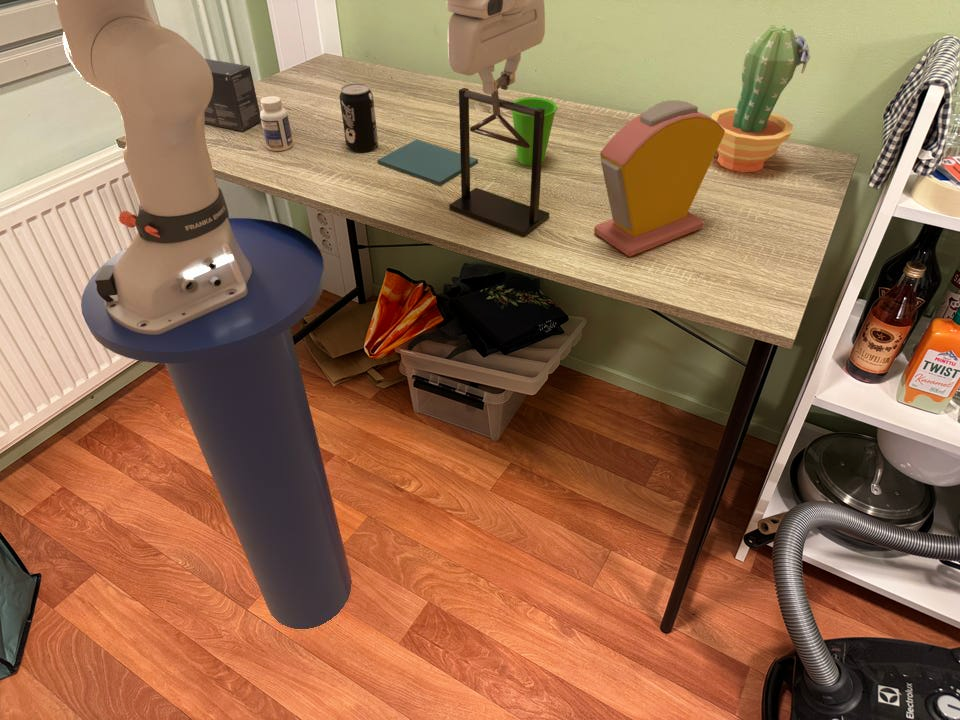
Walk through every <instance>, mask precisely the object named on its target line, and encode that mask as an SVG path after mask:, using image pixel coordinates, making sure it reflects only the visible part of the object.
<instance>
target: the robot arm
mask: <svg viewBox="0 0 960 720" xmlns="http://www.w3.org/2000/svg"><path fill="white" fill-rule="evenodd" d="M54 1H55V5H56V9H57V14H58V18H59V21H60V25H61V28H62V32H63V36H62V43H63V48H64V53H65V54H66V57H67V58H68V60H69V62H70V63H71V65H72V66H73V67H74V69H75V70H76V72H77V73H78V74H79V75H80V77H81V78H82V79H83V80H84V81H85V82H86V83H87V84H89V86H91V87H93V88H94V89H96V90H97V91H99V92H101V93H103V94H104V95H106V96H108V97H109V98H111V100H112V101H113V103H115V105H116V107H117V109H118V110H119V113H120V116H121V119H122V125H123V130H124V137H125V138H124V139H125V147H124V149H123V153H122V157H123V161H124V164H125V166H126V169H127V171H128V174H129V177H130V180H131V182H132V185H133V187H134V190H135V193H136V195H137V198H138V200H139V205H138V213H137V215H136V214H133V213H132V212H130V211H128V210H123V211H122V212H120V213H119V216H118V221H119V222H120V224H122V225H124V226H126V227H128V228H130V229H132V228H136V230H137V234H135V236H134V238H133V239H132V241H131V242H130V244H129V245H128V246H127V247H128V248H127V247H126V248H127V250H126V251H125V253H124V254H123V255H122V257H121V258H120V260H119V261H118V262H117V264H116V265H105V266H102V268H101V270H100V272H99V274H98V276H97V278H96V280H95V282H96V284H97V287H96V289H97V292H98V294H99V295H100V296H101V297H102V298H103V299H104V300H105V307H106V310H107V312H108V314H109V315H110V317H111V318H112V319H114V320H115V321H116V322H117V323H119V324H120V325H122V326H124V327H125V328H127V329H129V330H131V331H134V332H137V333H141V334H147V335H159V334H162V333H164V332H167V331H169V330H171V329H173V328H176V327H178V326H180V325H182V324H185V323H187V322H189V321H192V320H194V319H196V318H198V317H201V316H203V315H205V314H207V313H210V312H212V311H214V310H216V309H219V308H221V307H223V306H225V305H228V304H230V303H232V302H234V301H237V300H239V299H241V298H243V297H245V296H246V295H247V293H248V288H247V282H248V280H249V278H250V276H251V274H252V267H251V264H250V262H249V261H248V260H247V258H246V257H245V255H244V253H243V252H242V250H241V248H240V246H239V244H238V242H237V240H236V238H235V236H234V233H233V231H232V228H231V226H230V223H229V221H228V220H229V218H230V216H229V209H228V206H227V203H226V200H225V196H224V194H223V190H222V189H221V188H220V187H219V186H218V183H217V179H216V175H215V172H214V167H213V164H212V161H211V156H210V153H209V150H208V145H207V138H206V126H205V125H206V124H205V109H206V108H207V106H208V104H209V102H210V100H211V97H212V93H213V77H212V73H211V70H210V67H209V65H208V63H207V62H206V60H205V59H206V58H205V57H204V56H203V55H202V54H201V52H199V51H198V50H197V49H196V48H195V47H194V46H193V45H192V44H191V43H190V42H189V41H188V40H186V39H185V38H184V37H183V36H182V35H181V34H179V33H178V32H176V31H174V30H171V29H169V28H166V27H164V26H162V25H159V24H157V23H156V22H155V21H154V19H153V18H152V15H151V13H150V11H149V7H148V4H147V3H148V2H147V0H54ZM446 9H447V11H448V12H450V13H452V15H451V16H450V18H449V20H448V25H447V55H448V64H449V66H450V69H451V70H452V71H453V72H454V73H457V74H460V75H463V76H468V77H469V76H470V77H471V76H474V75H476V74H478V75H479V78H480V80H481V81H482V92H483V94H484V95H488V96H491V94H493V93H495V92H497V85H498V81H497V79H494V75H493V72H494V71H495V65H497V64H499V63H502V62H504V61H505V62H504V63H505V64H504V66H503V71H501V72H500V77H501V76H502V75H503V76H507V82H508V86H510V85H512V84H514V83H515V82H516V72H517V70H518V67H519V64H520V61H521V57H522V53H523V52H525V51H527V50H529V49H532V48H533V47H536V46H538V45H541V44H542V42H543V40H544V37H545V33H546V10H545V9H546V8H545V0H446Z"/></svg>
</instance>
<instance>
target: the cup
mask: <svg viewBox="0 0 960 720" xmlns="http://www.w3.org/2000/svg"><path fill="white" fill-rule="evenodd" d="M512 102H514V103H517V104H521V105H525V106H528V107H532V108H536V109H539V108H541V109H545V113H544V130H543V147H542V164H543V163H544V161H545V158H546V154H547V149H548V145H549V141H550V135H551V131H552V126H553V122H554V119H555V114H556V112H558V111H557V110H558V104H557V103H556V102H554V101H553V100H551V99H548V98H544V97H538V96H537V97H536V96H534V97H533V96H529V97H521V98H518V99H515V100H513V101H512ZM511 114H512V115H511V116H512V123H513V128H514V129H515V130H516V131H517V132H518V133H519V134H520V135H521V136H522V137H523V138H524V139H525V140H526V141H527V142H528V143H529V144H530V147H529V148H524V147H521V146H518V145H515V146H516V154H517V160H518V162H519V164H521V165H523V166H527V167H532V153H533V133H534V117H533V116H530V115H526V114H523V113H519V112H515V111H512V110H511ZM514 139H516V140H518V139H517V138H516V137H515V136H514Z"/></svg>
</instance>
